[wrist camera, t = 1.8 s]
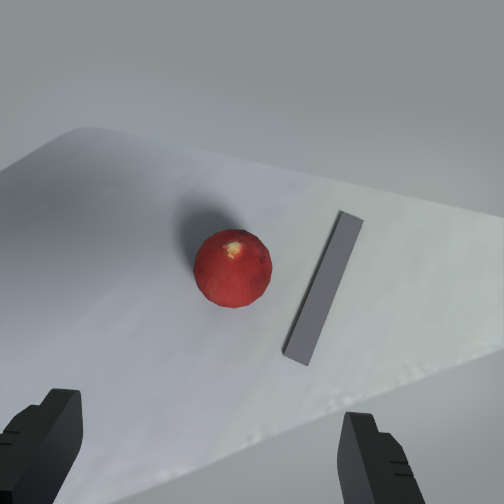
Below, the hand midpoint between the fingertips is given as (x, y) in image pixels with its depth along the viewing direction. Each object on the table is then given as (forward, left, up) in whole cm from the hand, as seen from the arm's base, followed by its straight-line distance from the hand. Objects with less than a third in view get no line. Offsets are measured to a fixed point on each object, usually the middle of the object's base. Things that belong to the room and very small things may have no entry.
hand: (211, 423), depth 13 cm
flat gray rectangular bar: (+3, +15, -19) cm, 24 cm away
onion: (-4, +11, -20) cm, 23 cm away
